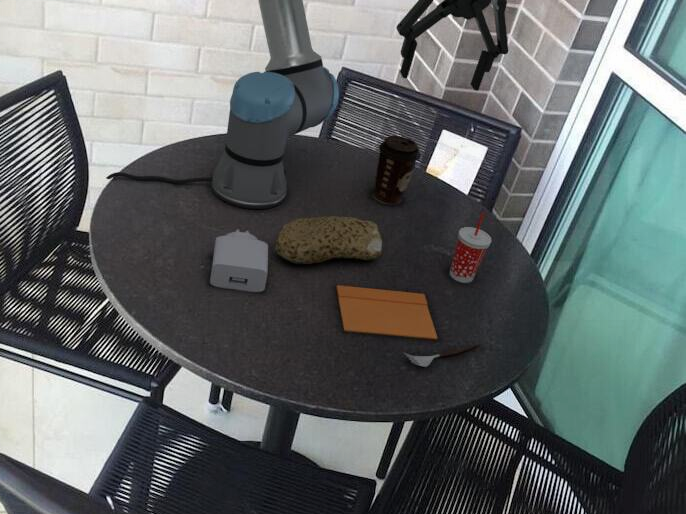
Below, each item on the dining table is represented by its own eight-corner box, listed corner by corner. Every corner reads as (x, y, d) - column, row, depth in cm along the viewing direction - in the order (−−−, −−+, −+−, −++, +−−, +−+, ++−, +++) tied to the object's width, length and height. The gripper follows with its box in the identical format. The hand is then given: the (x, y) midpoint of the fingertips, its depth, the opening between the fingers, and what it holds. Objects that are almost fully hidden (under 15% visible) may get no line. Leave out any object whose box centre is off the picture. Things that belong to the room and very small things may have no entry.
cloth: (344, 331, 133) (344, 328, 133) (336, 287, 143) (336, 285, 142) (437, 339, 136) (438, 336, 135) (423, 296, 145) (424, 293, 145)
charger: (265, 245, 150) (263, 293, 137) (215, 238, 149) (209, 286, 136) (269, 223, 147) (268, 270, 135) (218, 216, 146) (212, 263, 134)
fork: (485, 351, 135) (488, 342, 134) (409, 371, 127) (412, 362, 126) (475, 341, 137) (478, 332, 136) (399, 361, 129) (402, 351, 128)
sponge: (363, 242, 159) (268, 216, 152) (381, 214, 154) (284, 186, 147) (371, 291, 150) (271, 266, 143) (391, 263, 145) (287, 236, 138)
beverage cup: (463, 264, 157) (485, 202, 149) (483, 282, 153) (507, 219, 145) (439, 268, 154) (460, 205, 146) (458, 287, 150) (480, 223, 142)
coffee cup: (407, 193, 177) (422, 139, 170) (407, 211, 170) (423, 156, 163) (368, 184, 177) (382, 130, 170) (366, 202, 170) (380, 147, 163)
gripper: (411, -48, 129) (376, 78, 141) (554, -18, 134) (509, 101, 146) (402, -60, 135) (369, 61, 147) (539, -31, 140) (497, 84, 152)
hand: (439, 81), depth 146 cm, fingers open, 13 cm apart
